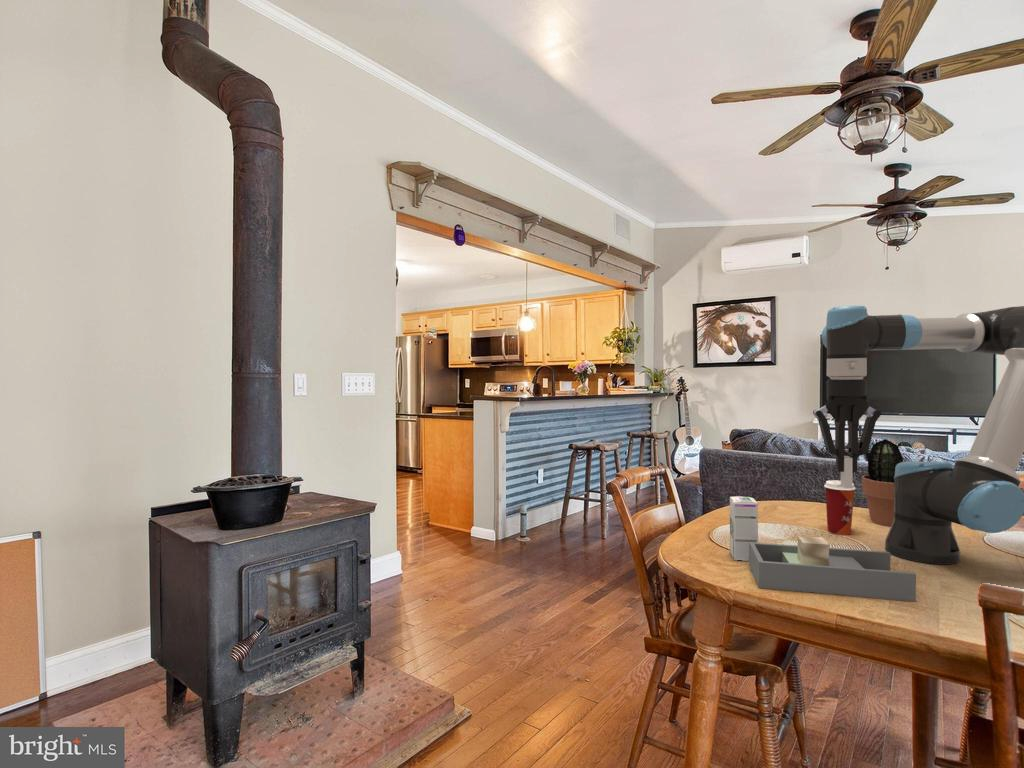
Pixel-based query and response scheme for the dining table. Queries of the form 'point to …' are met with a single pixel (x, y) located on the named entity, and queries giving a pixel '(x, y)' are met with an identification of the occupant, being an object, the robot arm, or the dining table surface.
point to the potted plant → (881, 481)
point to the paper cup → (839, 507)
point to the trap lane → (831, 573)
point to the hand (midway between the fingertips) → (846, 486)
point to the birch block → (813, 551)
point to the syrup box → (743, 526)
